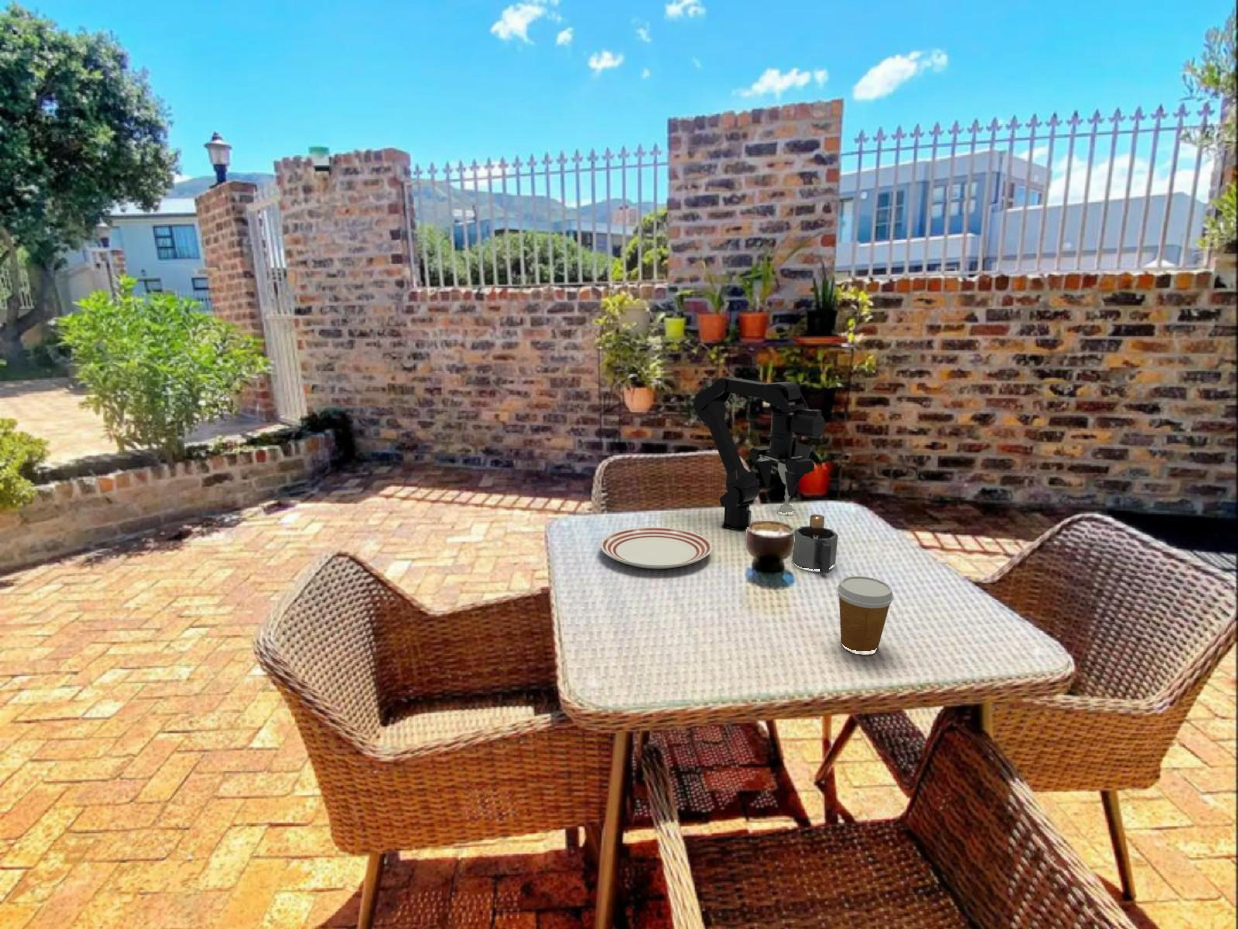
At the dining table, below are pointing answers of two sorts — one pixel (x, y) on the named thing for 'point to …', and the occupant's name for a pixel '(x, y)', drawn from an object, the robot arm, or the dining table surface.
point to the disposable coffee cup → (863, 611)
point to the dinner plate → (656, 547)
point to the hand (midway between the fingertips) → (778, 491)
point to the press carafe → (815, 549)
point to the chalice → (785, 506)
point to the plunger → (816, 525)
